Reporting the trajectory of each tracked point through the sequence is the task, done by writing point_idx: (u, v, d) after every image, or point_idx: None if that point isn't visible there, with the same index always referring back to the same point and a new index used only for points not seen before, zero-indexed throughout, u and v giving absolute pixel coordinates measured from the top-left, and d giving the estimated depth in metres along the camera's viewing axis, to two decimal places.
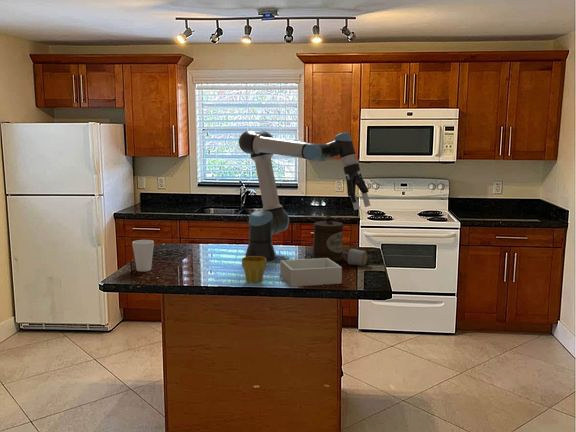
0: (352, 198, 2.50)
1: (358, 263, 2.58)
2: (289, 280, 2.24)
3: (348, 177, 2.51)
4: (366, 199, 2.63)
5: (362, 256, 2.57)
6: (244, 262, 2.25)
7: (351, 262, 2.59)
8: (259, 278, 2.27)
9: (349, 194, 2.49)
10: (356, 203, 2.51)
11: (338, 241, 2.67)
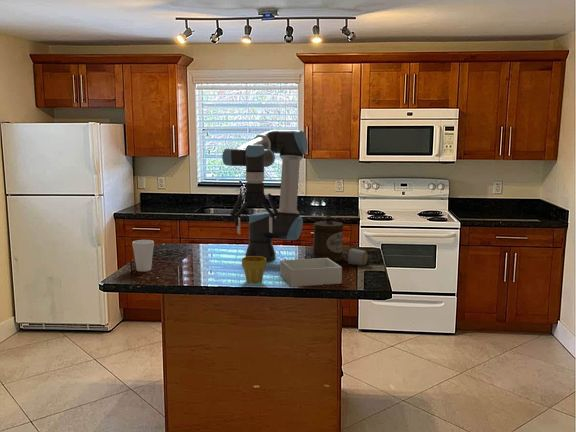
0: (235, 220, 2.24)
1: (358, 263, 2.58)
2: (289, 280, 2.24)
3: (238, 196, 2.23)
4: (270, 224, 2.28)
5: (362, 256, 2.57)
6: (244, 262, 2.25)
7: (351, 262, 2.60)
8: (259, 278, 2.27)
9: None
10: (238, 227, 2.24)
11: (338, 241, 2.67)
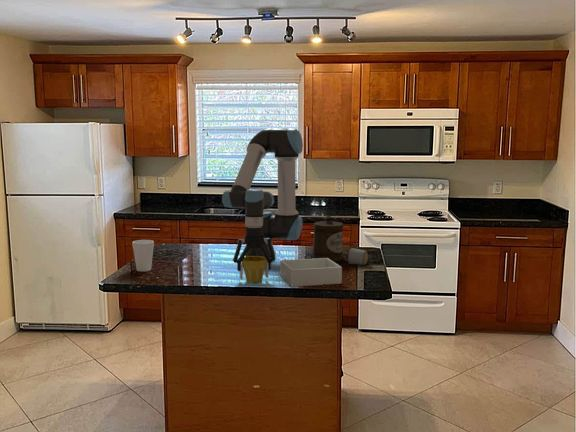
0: (237, 266, 2.27)
1: (359, 262, 2.59)
2: (289, 280, 2.24)
3: (238, 242, 2.26)
4: (266, 269, 2.30)
5: (363, 255, 2.58)
6: (244, 262, 2.25)
7: (352, 261, 2.60)
8: (259, 278, 2.27)
9: None
10: (240, 272, 2.27)
11: (338, 241, 2.67)
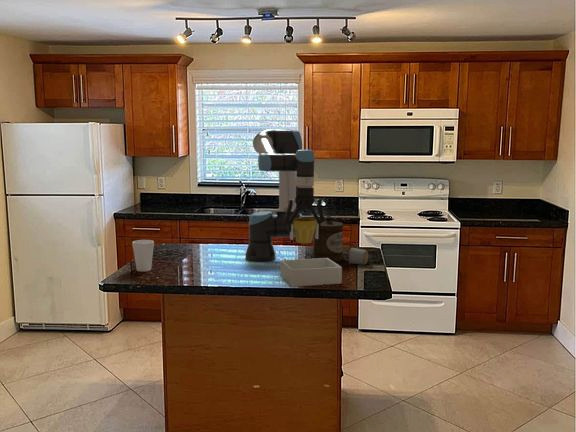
0: (287, 226, 2.28)
1: (359, 262, 2.60)
2: (289, 280, 2.24)
3: (289, 202, 2.26)
4: (316, 230, 2.31)
5: (363, 255, 2.59)
6: (295, 222, 2.26)
7: (352, 261, 2.61)
8: (310, 239, 2.28)
9: (283, 221, 2.27)
10: (291, 233, 2.28)
11: (338, 241, 2.67)
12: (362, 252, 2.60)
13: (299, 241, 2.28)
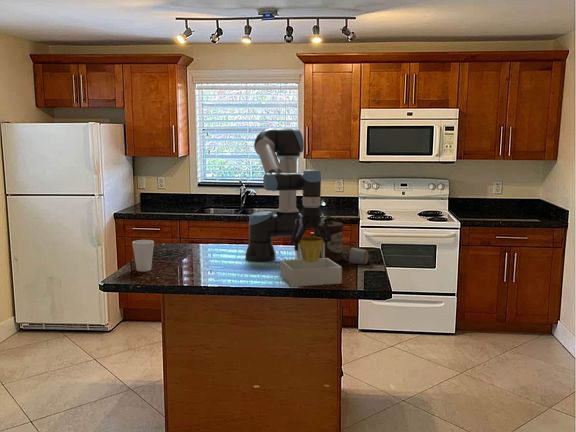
0: None
1: (360, 262, 2.60)
2: (289, 280, 2.24)
3: (295, 222, 2.28)
4: (322, 249, 2.32)
5: (363, 255, 2.59)
6: (302, 242, 2.27)
7: (353, 261, 2.62)
8: (317, 258, 2.29)
9: None
10: (297, 252, 2.29)
11: (338, 241, 2.67)
12: (362, 252, 2.60)
13: (306, 260, 2.29)
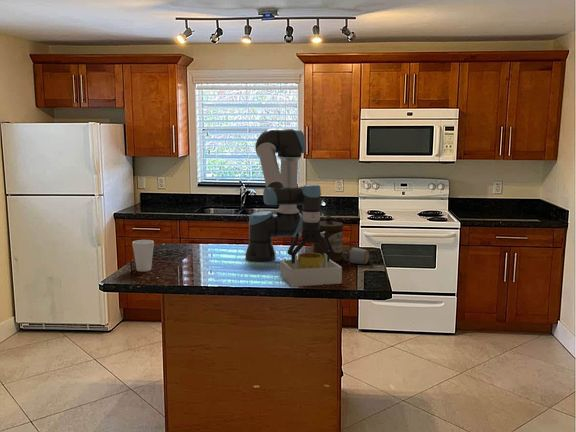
0: (291, 258, 2.30)
1: (360, 262, 2.61)
2: (289, 280, 2.24)
3: (295, 235, 2.29)
4: (324, 261, 2.34)
5: (364, 255, 2.60)
6: (301, 258, 2.29)
7: (353, 261, 2.62)
8: None
9: (287, 253, 2.29)
10: (294, 264, 2.30)
11: (338, 241, 2.67)
12: (363, 252, 2.60)
13: None
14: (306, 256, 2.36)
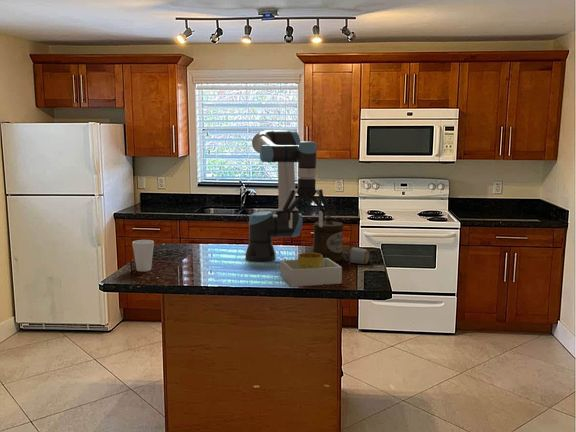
0: (287, 215, 2.31)
1: (360, 261, 2.61)
2: (289, 280, 2.24)
3: (291, 192, 2.29)
4: (320, 219, 2.34)
5: (364, 254, 2.60)
6: (301, 258, 2.29)
7: (353, 260, 2.63)
8: None
9: (283, 210, 2.30)
10: (290, 221, 2.31)
11: (338, 241, 2.67)
12: (363, 251, 2.61)
13: None
14: (306, 256, 2.36)
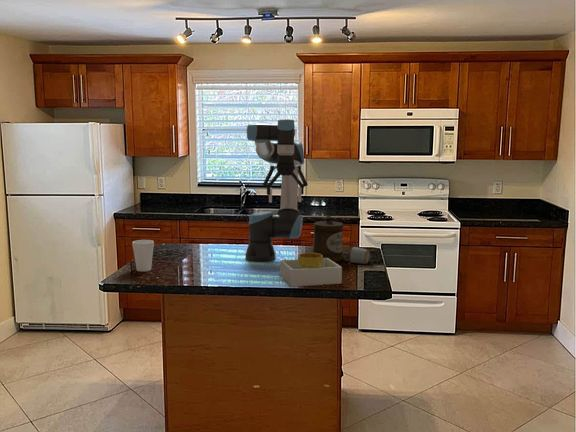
0: None
1: (360, 261, 2.62)
2: (289, 280, 2.24)
3: (270, 167, 2.39)
4: (299, 194, 2.44)
5: (364, 254, 2.61)
6: (301, 258, 2.29)
7: (354, 260, 2.63)
8: None
9: (263, 185, 2.40)
10: (269, 196, 2.40)
11: (338, 241, 2.67)
12: (363, 251, 2.61)
13: None
14: (306, 256, 2.36)
